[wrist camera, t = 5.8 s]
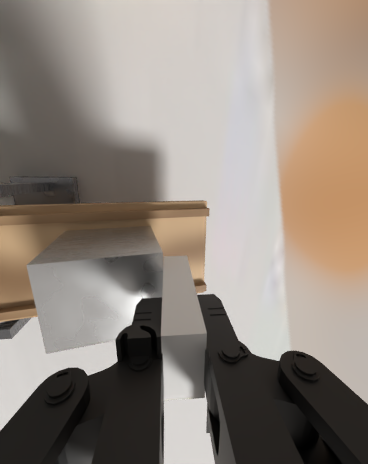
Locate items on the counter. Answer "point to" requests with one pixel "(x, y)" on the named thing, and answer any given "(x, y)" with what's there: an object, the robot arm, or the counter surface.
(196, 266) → the balance beam
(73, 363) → the counter surface
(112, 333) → the block
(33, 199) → the balance stand
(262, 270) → the counter surface
